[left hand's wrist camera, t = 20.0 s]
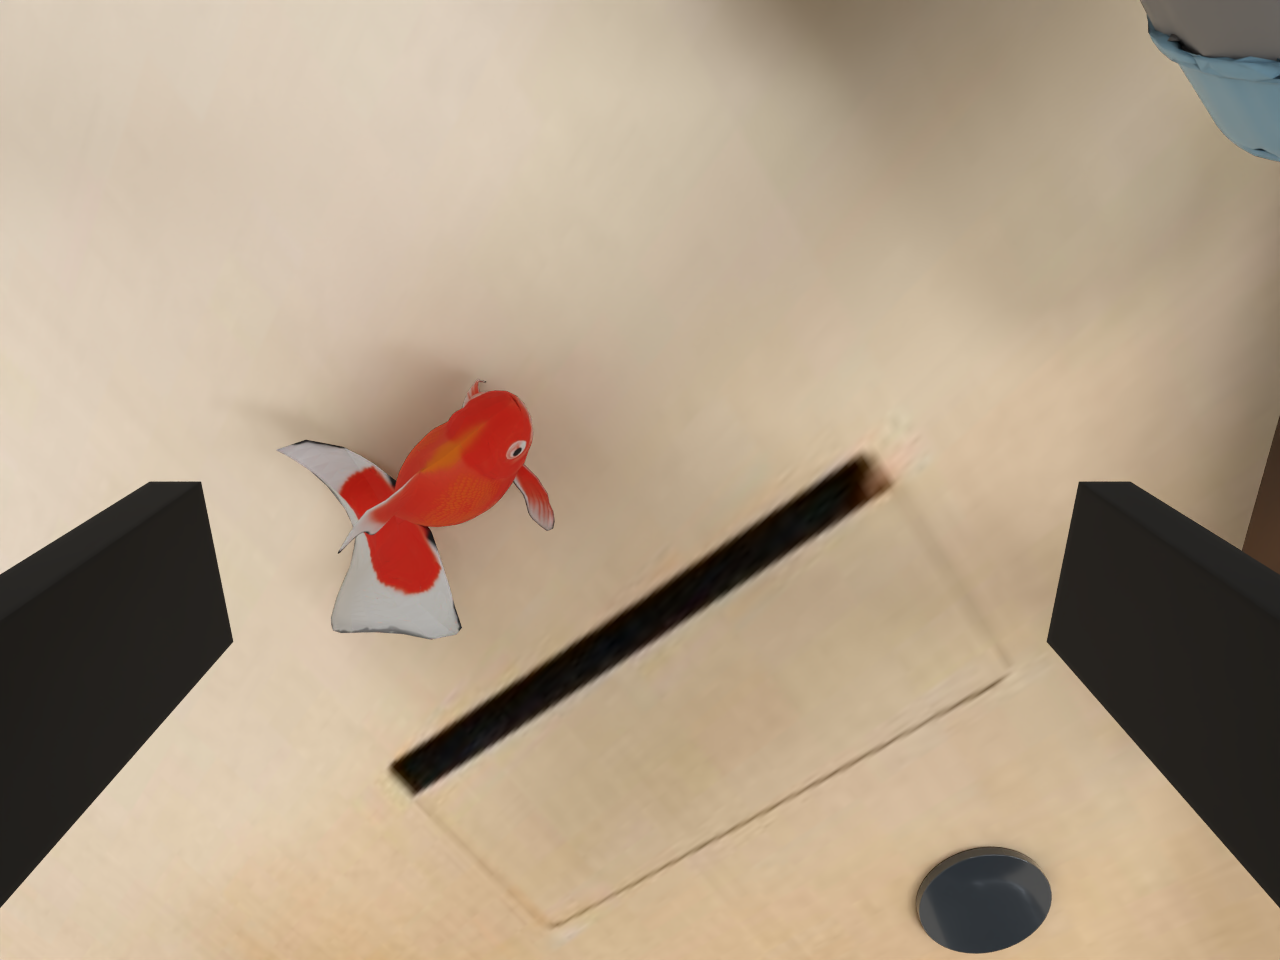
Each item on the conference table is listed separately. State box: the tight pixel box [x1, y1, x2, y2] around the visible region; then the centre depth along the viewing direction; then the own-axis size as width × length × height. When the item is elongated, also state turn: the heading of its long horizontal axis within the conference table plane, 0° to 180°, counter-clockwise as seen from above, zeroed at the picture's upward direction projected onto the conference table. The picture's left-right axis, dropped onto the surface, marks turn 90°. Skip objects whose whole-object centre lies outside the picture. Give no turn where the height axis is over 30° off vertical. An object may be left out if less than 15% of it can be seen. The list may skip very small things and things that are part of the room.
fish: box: [277, 379, 554, 639], centre depth 37 cm, size 11×16×10 cm
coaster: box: [916, 847, 1052, 954], centre depth 50 cm, size 8×8×1 cm
